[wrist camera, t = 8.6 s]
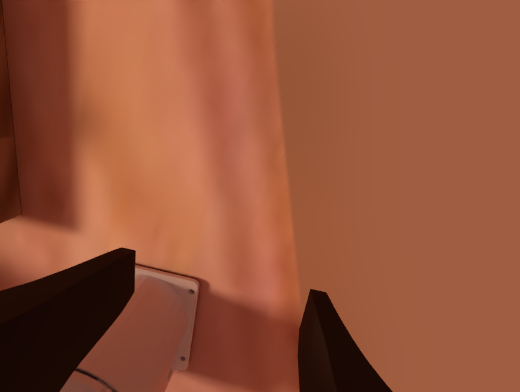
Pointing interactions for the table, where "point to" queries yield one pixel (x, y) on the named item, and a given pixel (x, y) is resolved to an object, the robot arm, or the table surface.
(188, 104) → the table surface
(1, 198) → the walnut holder
